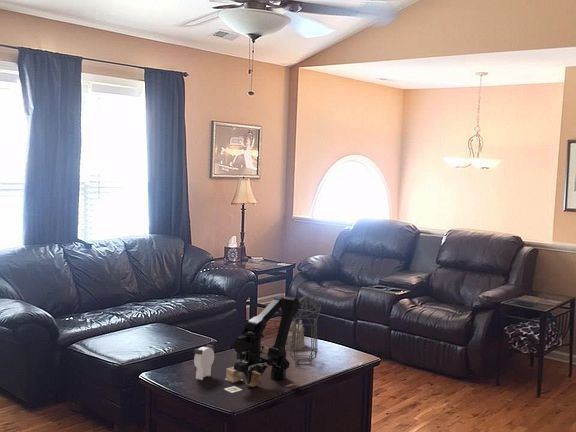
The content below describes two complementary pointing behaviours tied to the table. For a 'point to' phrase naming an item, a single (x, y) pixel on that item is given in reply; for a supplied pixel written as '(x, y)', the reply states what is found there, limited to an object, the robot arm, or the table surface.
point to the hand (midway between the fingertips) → (253, 382)
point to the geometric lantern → (305, 324)
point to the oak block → (232, 374)
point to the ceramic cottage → (300, 337)
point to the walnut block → (254, 379)
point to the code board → (233, 388)
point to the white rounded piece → (203, 361)
